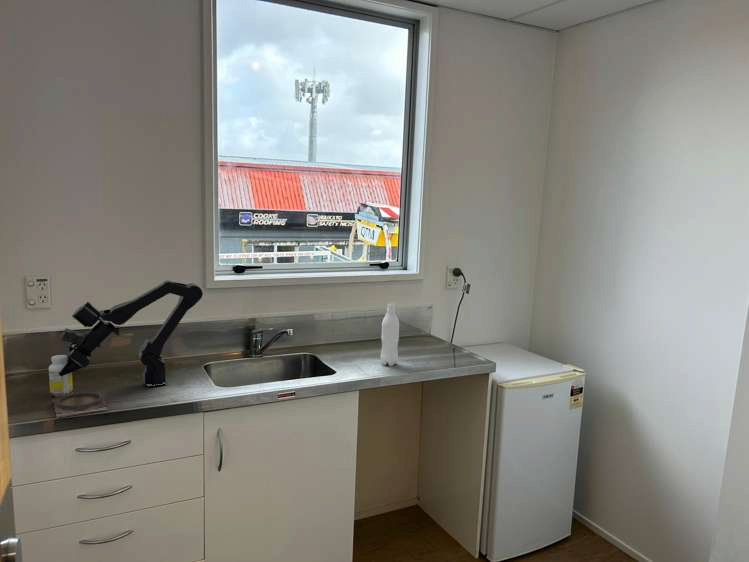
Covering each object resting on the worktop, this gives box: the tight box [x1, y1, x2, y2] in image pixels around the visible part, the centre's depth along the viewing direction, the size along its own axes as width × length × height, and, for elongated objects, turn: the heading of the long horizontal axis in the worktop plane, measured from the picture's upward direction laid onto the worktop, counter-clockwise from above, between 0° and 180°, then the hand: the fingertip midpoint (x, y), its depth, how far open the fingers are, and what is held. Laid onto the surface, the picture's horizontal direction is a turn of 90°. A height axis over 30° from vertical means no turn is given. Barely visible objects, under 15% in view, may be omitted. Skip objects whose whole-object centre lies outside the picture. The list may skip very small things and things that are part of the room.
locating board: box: [52, 391, 109, 414], centre depth 182 cm, size 14×14×3 cm
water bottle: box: [380, 302, 400, 367], centre depth 237 cm, size 7×7×25 cm
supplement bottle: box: [48, 354, 74, 394], centre depth 191 cm, size 7×7×13 cm
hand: (60, 371), depth 191 cm, fingers open, 9 cm apart
